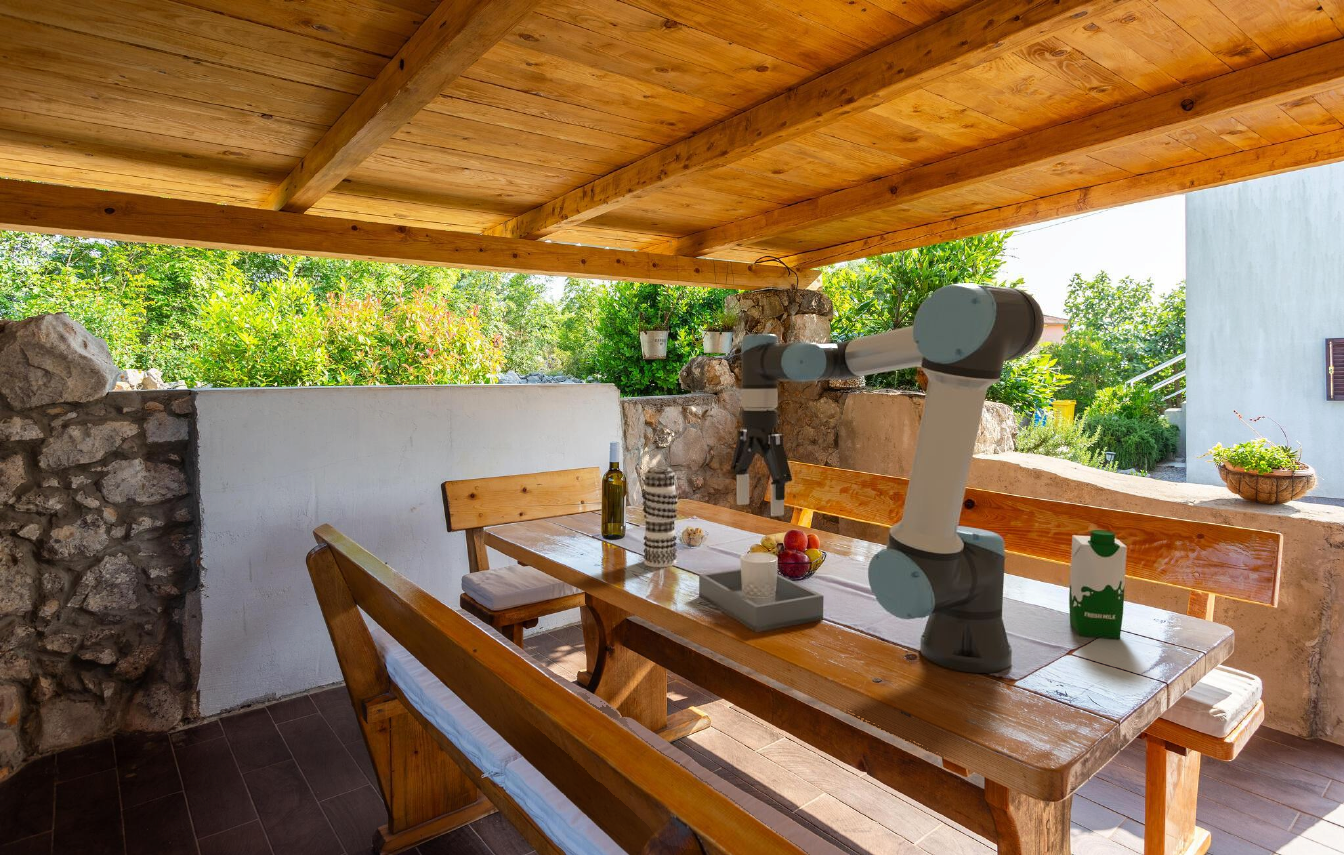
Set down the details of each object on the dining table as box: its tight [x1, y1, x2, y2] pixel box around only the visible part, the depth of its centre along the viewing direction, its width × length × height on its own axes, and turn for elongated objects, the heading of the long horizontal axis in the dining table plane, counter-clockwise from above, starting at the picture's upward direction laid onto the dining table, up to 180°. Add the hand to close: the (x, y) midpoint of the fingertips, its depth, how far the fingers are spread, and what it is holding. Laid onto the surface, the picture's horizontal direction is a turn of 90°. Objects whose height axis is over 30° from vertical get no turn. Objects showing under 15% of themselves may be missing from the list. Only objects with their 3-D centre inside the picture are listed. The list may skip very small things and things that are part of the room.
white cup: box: [739, 552, 779, 605], centre depth 157 cm, size 8×8×10 cm
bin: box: [698, 568, 825, 633], centre depth 157 cm, size 24×16×5 cm, turn 25°
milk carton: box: [1068, 529, 1128, 640], centre depth 142 cm, size 9×9×20 cm
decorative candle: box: [641, 466, 678, 568], centre depth 191 cm, size 9×9×25 cm
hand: (759, 509), depth 155 cm, fingers open, 13 cm apart
